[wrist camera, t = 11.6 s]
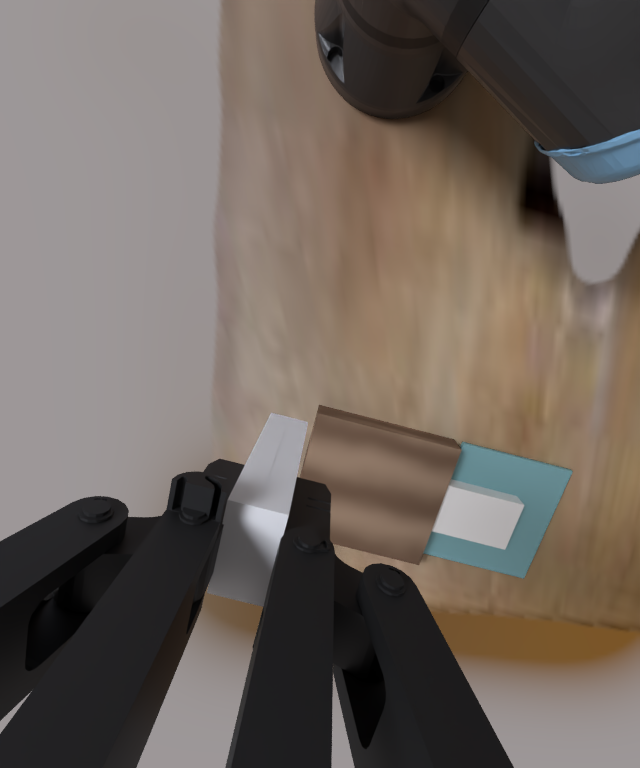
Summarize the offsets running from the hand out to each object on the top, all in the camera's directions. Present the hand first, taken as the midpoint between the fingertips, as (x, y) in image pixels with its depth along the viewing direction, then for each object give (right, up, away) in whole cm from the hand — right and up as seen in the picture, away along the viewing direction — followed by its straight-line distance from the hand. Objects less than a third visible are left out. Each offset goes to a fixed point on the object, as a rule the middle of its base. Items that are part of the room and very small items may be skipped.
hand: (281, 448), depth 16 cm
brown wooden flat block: (+7, -9, +32) cm, 34 cm away
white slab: (+19, -12, +32) cm, 39 cm away
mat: (+22, -13, +33) cm, 42 cm away
